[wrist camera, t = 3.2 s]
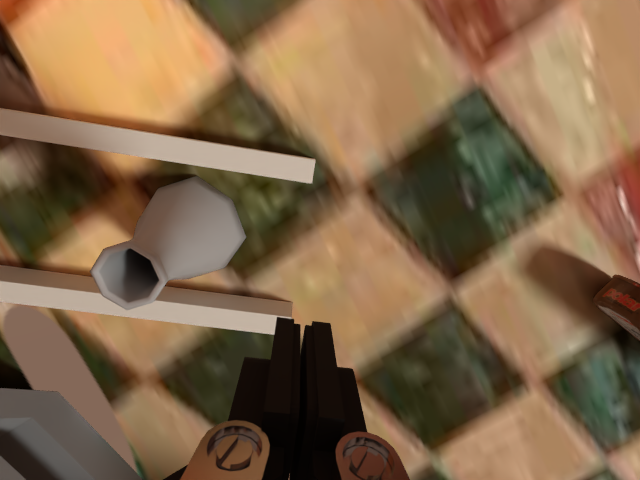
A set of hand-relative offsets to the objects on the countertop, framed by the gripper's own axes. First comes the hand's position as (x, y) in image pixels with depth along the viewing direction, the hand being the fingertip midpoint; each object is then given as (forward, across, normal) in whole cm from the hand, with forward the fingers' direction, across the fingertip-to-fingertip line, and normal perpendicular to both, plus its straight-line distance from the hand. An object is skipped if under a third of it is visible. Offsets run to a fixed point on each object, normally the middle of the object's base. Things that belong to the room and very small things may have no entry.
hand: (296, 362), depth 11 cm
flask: (+16, +8, +1) cm, 18 cm away
